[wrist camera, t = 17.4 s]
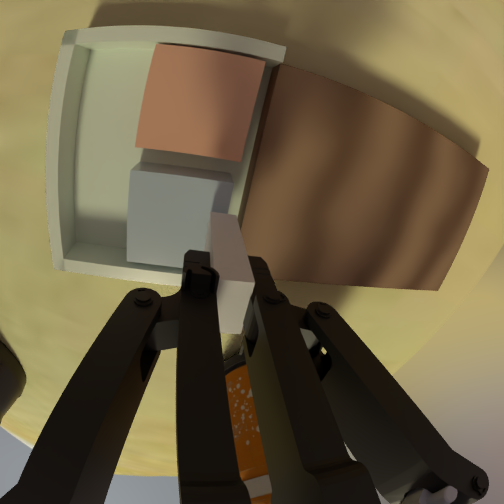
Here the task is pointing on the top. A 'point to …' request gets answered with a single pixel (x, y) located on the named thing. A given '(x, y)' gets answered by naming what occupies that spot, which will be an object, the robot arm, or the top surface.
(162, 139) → the tile
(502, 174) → the top surface
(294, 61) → the top surface
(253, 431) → the canister
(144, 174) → the tile
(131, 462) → the top surface
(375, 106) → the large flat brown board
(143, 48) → the tray
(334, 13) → the top surface
